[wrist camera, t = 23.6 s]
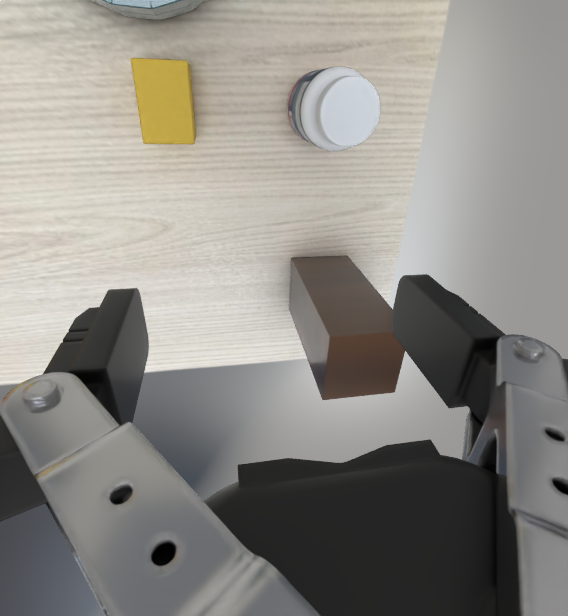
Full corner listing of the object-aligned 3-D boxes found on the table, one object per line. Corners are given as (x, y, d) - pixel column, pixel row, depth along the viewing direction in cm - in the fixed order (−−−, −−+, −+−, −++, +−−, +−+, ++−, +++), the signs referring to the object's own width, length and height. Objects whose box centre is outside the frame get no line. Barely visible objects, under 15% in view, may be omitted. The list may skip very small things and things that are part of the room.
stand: (291, 257, 37) (329, 336, 25) (347, 255, 38) (410, 330, 26) (288, 308, 40) (322, 400, 28) (341, 305, 41) (394, 392, 29)
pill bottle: (355, 79, 30) (404, 76, 22) (337, 147, 32) (376, 164, 25) (293, 62, 29) (323, 52, 21) (279, 134, 31) (302, 148, 23)
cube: (141, 62, 27) (130, 57, 23) (190, 64, 27) (187, 60, 24) (151, 136, 29) (143, 143, 26) (196, 137, 30) (194, 144, 26)
